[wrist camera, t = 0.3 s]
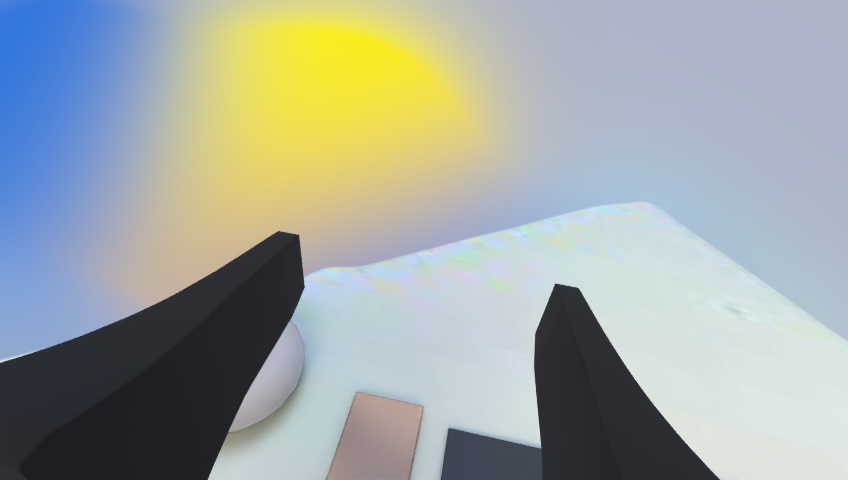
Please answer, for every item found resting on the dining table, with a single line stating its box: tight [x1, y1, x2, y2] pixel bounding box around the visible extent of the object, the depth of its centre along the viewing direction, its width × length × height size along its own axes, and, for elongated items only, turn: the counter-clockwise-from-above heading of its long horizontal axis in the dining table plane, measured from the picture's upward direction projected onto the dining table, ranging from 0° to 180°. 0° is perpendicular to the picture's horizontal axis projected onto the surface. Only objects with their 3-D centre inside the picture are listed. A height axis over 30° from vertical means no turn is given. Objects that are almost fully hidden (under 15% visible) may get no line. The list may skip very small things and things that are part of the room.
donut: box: [229, 321, 304, 432], centre depth 30 cm, size 10×4×10 cm
